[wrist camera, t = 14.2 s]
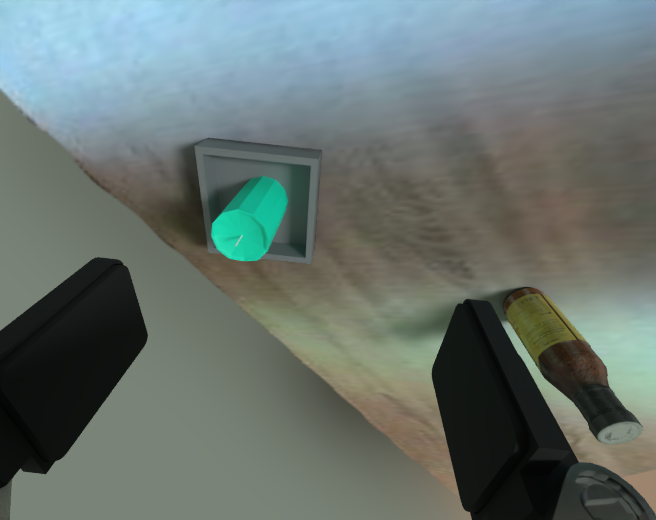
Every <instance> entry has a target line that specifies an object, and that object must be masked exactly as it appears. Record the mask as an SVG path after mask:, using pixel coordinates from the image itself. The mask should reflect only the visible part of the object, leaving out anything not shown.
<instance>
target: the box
mask: <svg viewBox="0 0 656 520" xmlns="http://www.w3.org/2000/svg"><path fill="white" fill-rule="evenodd" d="M194 147H195V155H196V162H197V170H198V178H199V185H200V193H201V200H202V208H203V216H204V223H205V231H206V238H207V246H208V252H209V253H218V254H222V253H221V252H220V251H218V250H217V248H216V246H215V244H214V241H213V239H212V237H211V231H212V223H213V222H214V221H215V220H216V218H217V217H218V216H219V215H220V214H221V212H222V211H223V210H224V209H225V208H226V207H227V205H228V204H229V203H230V202H231V201H232V200H233V198H234V197H235V196H236V195H237V194H238V193H239V191H240V190H241V189H242V188H243V187H244V186H245V185H246V184H247V182H248V181H249V180H250V179H251V178H256V177H260V176H265V177H268V178H272V179H275V180H276V181H277V182H278V183H279V184H280V185H281V186H282V187H283V188H284V189H285V191H286V195H287V198H288V203H287V207H286V211H285V213H284V216H283V218H282V220H281V222H280V225H279V227H278V229H277V231H276V234H275V236H274V238H273V240H272V242H271V245H270V247H269V249H268V251H267V252H266V253H265V254H264V255H263V256H262V257H261V258H262V259H271V260H280V261H289V262H298V263H307V264H311V263H312V258H313V254H314V249H315V236H316V223H317V209H318V196H319V182H320V169H321V155H322V150H316V149H307V148H298V147H288V146H279V145H270V144H260V143H251V142H242V141H232V140H223V139H214V138H207V139H206V140H204V141H202V142H200V143H199V144H197V145H195V146H194Z"/></svg>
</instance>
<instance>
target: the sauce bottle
mask: <svg viewBox="0 0 656 520" xmlns="http://www.w3.org/2000/svg"><path fill="white" fill-rule="evenodd" d="M503 308H504V313H505V314H506V316H507V320H508V321H509V323H510V324H511V326H512V327H513V329H514V331H515V332H516V334H517V335H518V337H519V338H520V340H521V342H522V343H523V345H524V347H525V348H526V349H527V351H528V353H529V355H530V356H531V358H532V359H533V361H534V362H535V364H536V366H537V367H538V369H539V370H540V372H541V373H542V375H543V377H544V378H545V379H546V380H547V381H548V382H550V383H551V384H552V385H553V386H554V387H556V388H557V389H558V390H559V391H560V392H562V393H563V394H564V395H565V396H566V397H568V398H569V399H570V400H571V401H572V402H574V404H575V406H576V407H578V409H579V410H580V412H581V414H582V415H583V417H584V418H585V419H586V421H587V422H588V425H589V429H590V431H591V432H592V433H593V435H594V436H595V438H596V439H597V440H598V441H600V442H601V443H604V444H608V445H614V444H621V443H626V442H629V441H631V440H634V439H635V438H637V437H638V436H639V435H640V434H641V433H642V431H643V426H642V425H641V424H640V422H639V421H638V420H637V418H636V417H635V416H634V415H633V414H632V413H631V412H629V411H628V410H626V408H625V407H624V406H623V405H622V403H621V402H620V401H619V400H618V398H617V397H616V396H615V394H614V392H613V391H612V390H611V389H610V387H609V384H608V380H607V376H608V375H607V368H606V366H605V365H604V363H603V362H602V360H601V359H600V358H599V357H598V356H597V355H596V353H595V352H594V351H593V350H592V349H591V346H590V345H589V344H588V342H587V341H586V340H585V339H584V338H583V337H582V335H581V334H580V333H579V332H578V331H577V330H576V328H575V327H574V326H573V325H572V324H571V323H570V321H569V320H568V319H567V318H566V317H565V315H564V314H563V313H562V312H561V311H560V310H559V308H558V307H557V306H556V305H555V304H554V303H553V301H552V300H551V299H550V298H549V297H548V296H547V295H545V294H544V293H543V292H542V291H540V290H538V289H535V288H524V289H520V290H517V291H515V292H514V293H512V294H510V295H509V296H508V297H507V299H506V300H505V302H504V305H503Z"/></svg>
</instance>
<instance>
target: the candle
mask: <svg viewBox="0 0 656 520" xmlns="http://www.w3.org/2000/svg"><path fill="white" fill-rule="evenodd" d="M287 203H288V198H287V195H286V191H285V189H284V188H283V187H282V186H281V185H280V184H279V183H278V182H277V181H276V180H275V179H272V178H268V177H265V176H260V177H256V178H251V179H250V180H249V181H248V182H247V184H246V185H245V186H244V187H243V188H242V189H241V190H240V191H239V193H238V194H237V195H236V196H235V197H234V198H233V200H232V201H231V202H230V203H229V204H228V205H227V207H226V208H225V209H224V210H223V211H222V212H221V214H220V215H219V216H218V217H217V218H216V220H215V221H214V222H213V223H212V231H211V237H212V239H213V241H214V244H215V246H216V248H217V250H218V251H220V252H221V253H222V254H224V255H225V256H226V257H228V258H229V259H234V260H241V261H257V260H259V259H260V258H261V257H262V256H263V255H264V254H265V253H266V252H267V251H268V249H269V247H270V245H271V242H272V240H273V238H274V236H275V234H276V231H277V229H278V227H279V225H280V222H281V220H282V218H283V216H284V213H285V211H286V207H287Z"/></svg>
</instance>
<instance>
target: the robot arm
mask: <svg viewBox="0 0 656 520" xmlns="http://www.w3.org/2000/svg"><path fill="white" fill-rule="evenodd" d="M147 337H148V334H147V330H146V327H145V323H144V320H143V316H142V313H141V310H140V307H139V303H138V300H137V296H136V293H135V289H134V287H133V283H132V279H131V276H130V273H129V270H128V268H127V267H126V266H124V265H123V263H122V262H121V261H120V260H117V259H108V258H99V257H98V258H94V259H92V260H91V261H90V262H88V263H87V264H86V265H84V266H83V267H82V268H81V269H79V270H78V271H77V272H75V273H74V274H73V275H72V276H70V277H69V278H68V279H66V280H65V281H64V282H63V283H61V284H60V285H59V286H57V287H56V288H55V289H54V290H52V291H51V292H50V293H48V294H47V295H46V296H45V297H43V298H42V299H41V300H39V301H38V302H37V303H35V304H34V305H33V306H32V307H30V308H29V309H28V310H26V311H25V312H24V313H23V314H21V315H20V316H19V317H17V318H16V319H15V320H14V321H12V322H11V323H10V324H8V325H7V326H6V327H5V328H3V329H2V330H1V331H0V520H10V506H11V486H12V478H13V477H14V475H15V474H16V473H17V472H18V470H19V469H20V468H21V469H22V470H23V471H24V472H32V473H41V474H46V473H47V472H48V471H49V469H50V468H51V466H52V465H53V464H54V462H55V461H57V460H60V459H61V458H62V457H64V456H65V454H66V453H67V452H68V451H69V449H70V448H71V446H72V445H73V444H74V442H75V441H76V440H77V438H78V437H79V436H80V434H81V433H82V431H83V430H84V429H85V427H86V426H87V424H88V423H89V422H90V420H91V419H92V418H93V416H94V415H95V413H96V412H97V411H98V409H99V408H100V407H101V405H102V404H103V402H104V401H105V400H106V398H107V397H108V396H109V394H110V393H111V391H112V390H113V389H114V387H115V386H116V384H117V383H118V382H119V380H120V379H121V378H122V376H123V375H124V373H125V372H126V371H127V369H128V368H129V367H130V365H131V364H132V362H133V361H134V360H135V358H136V357H137V356H138V354H139V353H140V351H141V350H142V349H143V347H144V346H145V344H146V341H147ZM432 380H433V385H434V389H435V393H436V397H437V402H438V406H439V410H440V414H441V418H442V423H443V427H444V431H445V435H446V440H447V444H448V448H449V452H450V457H451V461H452V465H453V469H454V474H455V478H456V482H457V486H458V491H459V495H460V499H461V502H462V506H463V508H464V509H465V510H466V511H468V512H470V513H471V517H472V520H656V515H655V513H654V511H653V510H652V508H651V507H650V506H649V504H648V503H647V501H646V500H645V499H644V498H643V497H642V496H641V495H640V494H639V493H638V492H637V490H636V489H635V488H634V487H633V486H632V485H630V484H629V483H628V482H627V481H625V480H624V479H622V478H621V477H620V476H619V475H617V474H616V473H614V472H612V471H610V470H608V469H607V468H605V467H603V466H599V465H596V464H593V463H587V462H578V460H577V458H576V456H575V454H574V452H573V451H572V449H571V447H570V445H569V443H568V442H567V440H566V438H565V436H564V434H563V432H562V431H561V429H560V427H559V425H558V423H557V421H556V420H555V418H554V416H553V414H552V412H551V410H550V409H549V407H548V405H547V403H546V401H545V400H544V398H543V396H542V394H541V392H540V390H539V389H538V387H537V385H536V383H535V381H534V379H533V378H532V376H531V374H530V372H529V370H528V368H527V367H526V365H525V363H524V361H523V360H522V358H521V357H520V356H519V355H518V353H517V351H516V350H515V348H514V346H513V344H512V342H511V340H510V338H509V337H508V335H507V333H506V331H505V329H504V327H503V326H502V324H501V322H500V320H499V318H498V316H497V314H496V313H495V311H494V309H493V307H492V305H491V304H490V303H489V302H488V301H480V300H471V299H466V300H465V301H464V302H463V304H458V305H457V306H456V308H455V311H454V313H453V316H452V319H451V321H450V324H449V326H448V329H447V331H446V334H445V336H444V339H443V342H442V344H441V347H440V349H439V352H438V354H437V357H436V359H435V362H434V365H433V368H432Z"/></svg>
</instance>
